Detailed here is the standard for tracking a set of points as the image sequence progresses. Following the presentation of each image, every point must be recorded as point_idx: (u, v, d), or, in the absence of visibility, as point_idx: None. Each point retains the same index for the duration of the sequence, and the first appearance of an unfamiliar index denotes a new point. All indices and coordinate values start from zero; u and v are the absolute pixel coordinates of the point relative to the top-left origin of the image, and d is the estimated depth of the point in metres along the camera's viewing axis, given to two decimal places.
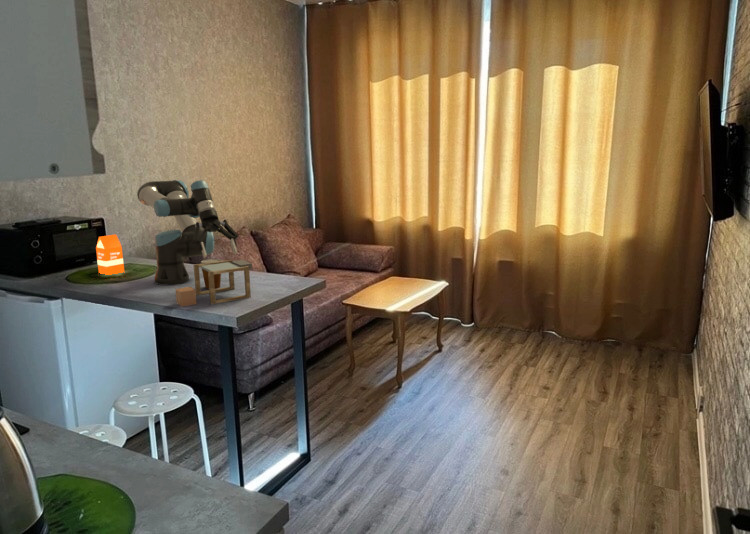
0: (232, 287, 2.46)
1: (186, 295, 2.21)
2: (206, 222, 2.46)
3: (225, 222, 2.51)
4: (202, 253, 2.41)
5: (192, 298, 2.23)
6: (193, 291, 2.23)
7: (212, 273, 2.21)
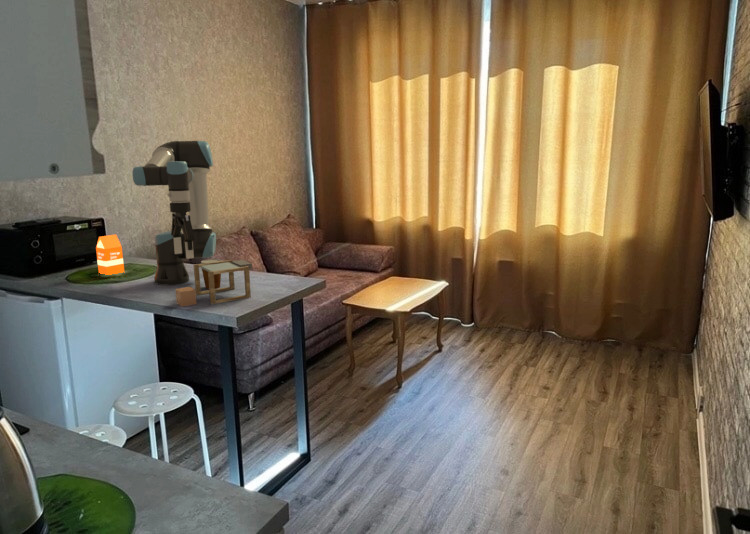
0: (232, 287, 2.46)
1: (186, 295, 2.21)
2: (176, 215, 2.19)
3: (183, 219, 2.13)
4: None
5: (192, 298, 2.23)
6: (193, 291, 2.23)
7: (212, 273, 2.21)
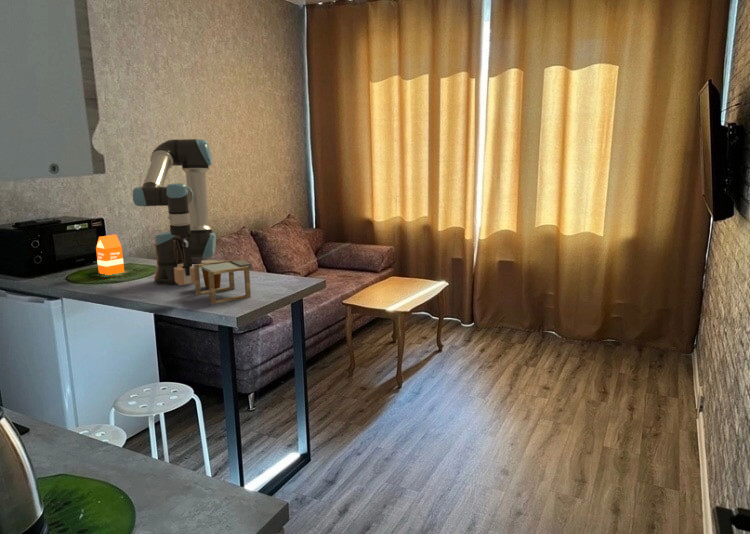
0: (232, 287, 2.46)
1: None
2: (176, 236, 2.20)
3: (183, 245, 2.15)
4: None
5: (191, 277, 2.22)
6: (192, 270, 2.21)
7: (212, 273, 2.21)
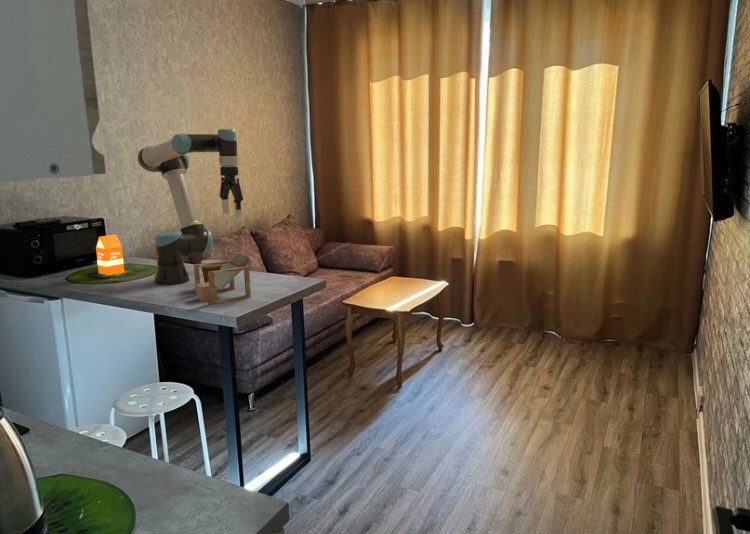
0: (232, 287, 2.46)
1: (206, 295, 2.28)
2: (225, 178, 2.42)
3: (232, 181, 2.36)
4: None
5: None
6: (202, 288, 2.27)
7: (212, 273, 2.21)
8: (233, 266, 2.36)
